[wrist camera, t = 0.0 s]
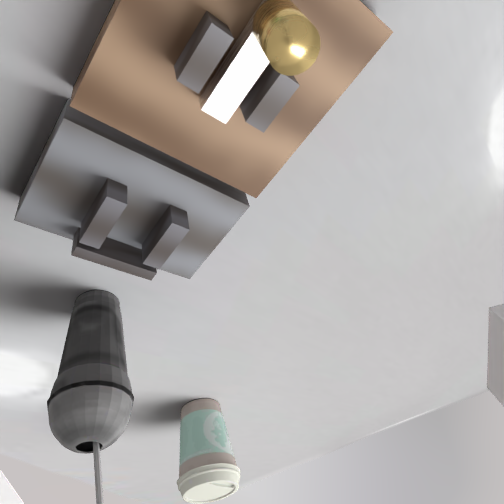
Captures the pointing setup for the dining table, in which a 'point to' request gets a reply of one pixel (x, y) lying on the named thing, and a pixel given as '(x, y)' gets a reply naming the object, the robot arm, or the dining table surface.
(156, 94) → the door board
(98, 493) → the beverage cup
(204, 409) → the coffee cup
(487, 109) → the dining table surface
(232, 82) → the bolt
